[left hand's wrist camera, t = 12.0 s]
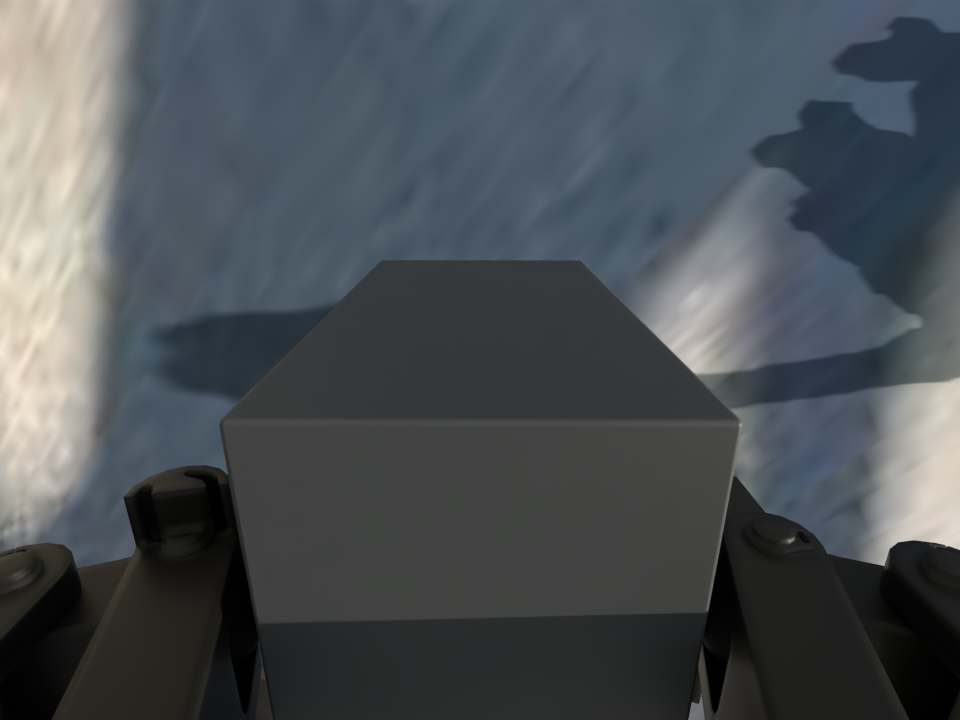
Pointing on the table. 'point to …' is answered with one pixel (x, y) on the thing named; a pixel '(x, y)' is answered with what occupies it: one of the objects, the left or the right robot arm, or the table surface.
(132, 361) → the table surface
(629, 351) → the bar
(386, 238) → the table surface
